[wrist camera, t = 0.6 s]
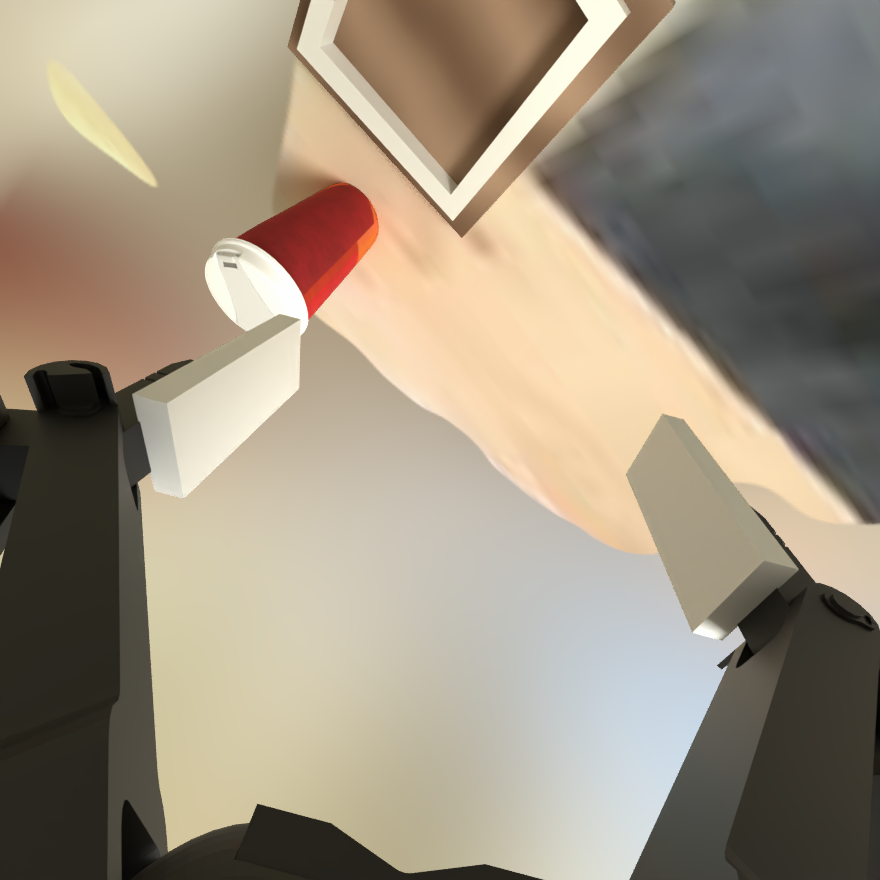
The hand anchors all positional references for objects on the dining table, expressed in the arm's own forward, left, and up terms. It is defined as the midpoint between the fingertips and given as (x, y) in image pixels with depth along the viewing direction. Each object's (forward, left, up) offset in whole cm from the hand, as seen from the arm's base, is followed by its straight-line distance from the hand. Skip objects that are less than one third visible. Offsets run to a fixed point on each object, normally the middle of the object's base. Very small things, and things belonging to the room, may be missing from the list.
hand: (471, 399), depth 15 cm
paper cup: (+16, -11, -22) cm, 30 cm away
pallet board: (0, -11, -22) cm, 25 cm away
